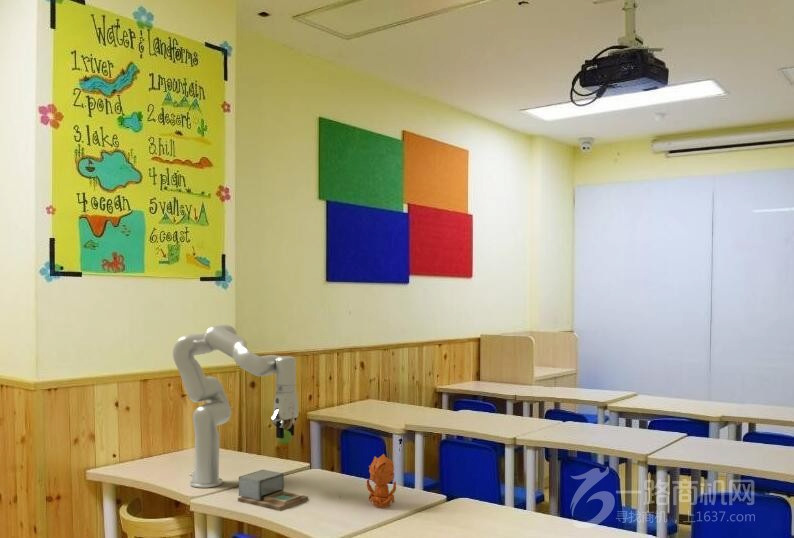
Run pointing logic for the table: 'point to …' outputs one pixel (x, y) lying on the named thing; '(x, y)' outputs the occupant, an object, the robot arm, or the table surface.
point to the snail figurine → (286, 431)
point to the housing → (260, 484)
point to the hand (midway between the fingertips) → (285, 436)
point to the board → (276, 500)
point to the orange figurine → (381, 481)
